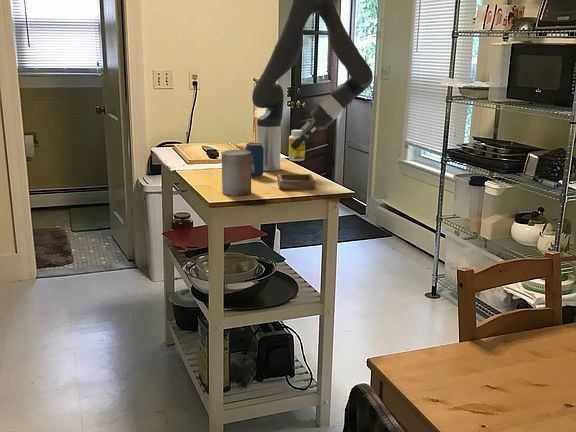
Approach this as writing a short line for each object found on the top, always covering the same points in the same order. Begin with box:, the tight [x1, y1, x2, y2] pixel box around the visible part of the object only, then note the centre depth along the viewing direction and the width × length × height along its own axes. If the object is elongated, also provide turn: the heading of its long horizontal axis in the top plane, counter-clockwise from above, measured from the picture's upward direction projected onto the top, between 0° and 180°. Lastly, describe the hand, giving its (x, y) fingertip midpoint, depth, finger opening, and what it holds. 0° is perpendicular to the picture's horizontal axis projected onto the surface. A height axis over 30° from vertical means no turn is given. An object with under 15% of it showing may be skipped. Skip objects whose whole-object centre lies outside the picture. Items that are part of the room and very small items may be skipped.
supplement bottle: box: [288, 129, 306, 162], centre depth 216 cm, size 6×6×10 cm
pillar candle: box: [221, 147, 252, 197], centre depth 207 cm, size 10×10×15 cm
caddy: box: [277, 173, 316, 191], centre depth 220 cm, size 12×12×3 cm
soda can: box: [244, 142, 265, 178], centre depth 235 cm, size 7×7×12 cm
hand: (291, 146), depth 216 cm, fingers closed on supplement bottle, 5 cm apart
